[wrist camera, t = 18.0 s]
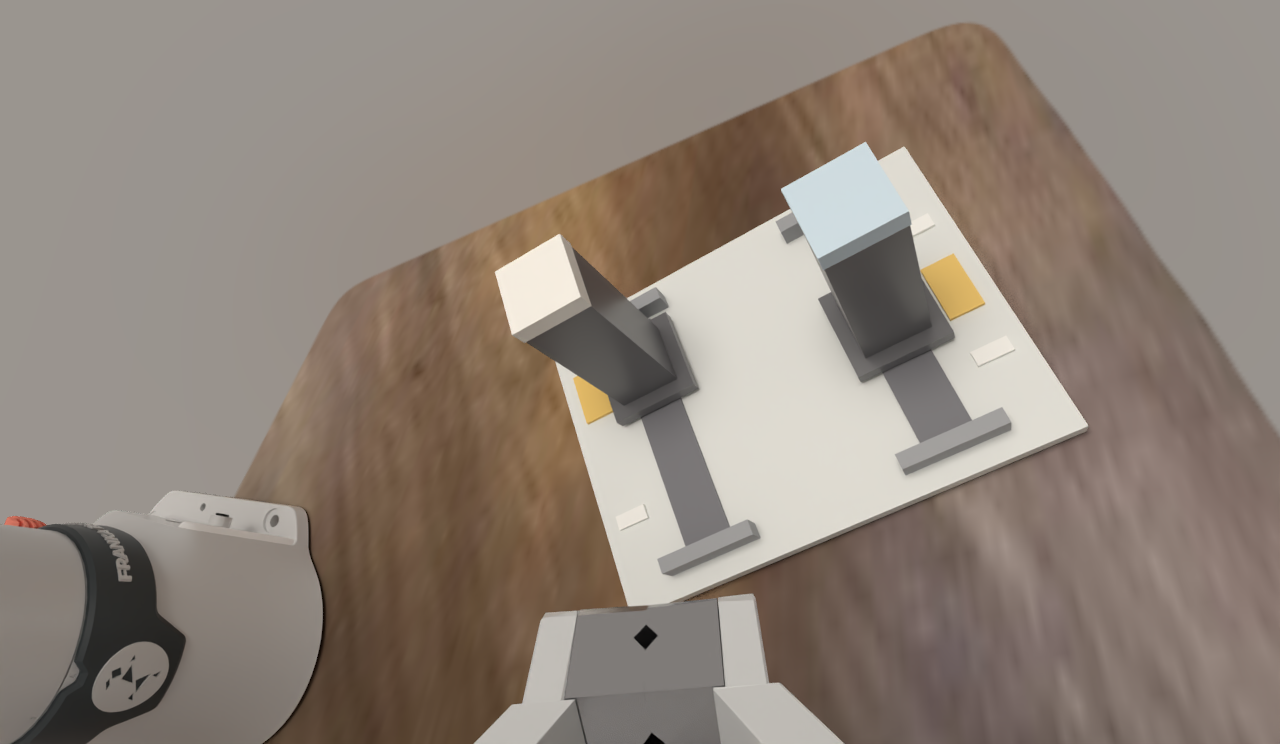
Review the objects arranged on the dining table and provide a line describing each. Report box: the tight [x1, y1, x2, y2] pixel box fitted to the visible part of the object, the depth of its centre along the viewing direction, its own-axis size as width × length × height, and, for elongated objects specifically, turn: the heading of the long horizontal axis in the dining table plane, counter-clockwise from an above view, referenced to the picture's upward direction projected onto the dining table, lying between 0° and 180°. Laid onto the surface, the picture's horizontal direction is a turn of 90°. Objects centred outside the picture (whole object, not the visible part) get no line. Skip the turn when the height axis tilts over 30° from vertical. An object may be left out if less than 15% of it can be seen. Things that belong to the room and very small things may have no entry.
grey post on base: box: [495, 234, 699, 426], centre depth 39 cm, size 5×5×12 cm
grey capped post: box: [781, 142, 955, 382], centre depth 34 cm, size 5×5×12 cm
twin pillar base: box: [555, 147, 1088, 606], centre depth 41 cm, size 24×18×2 cm
